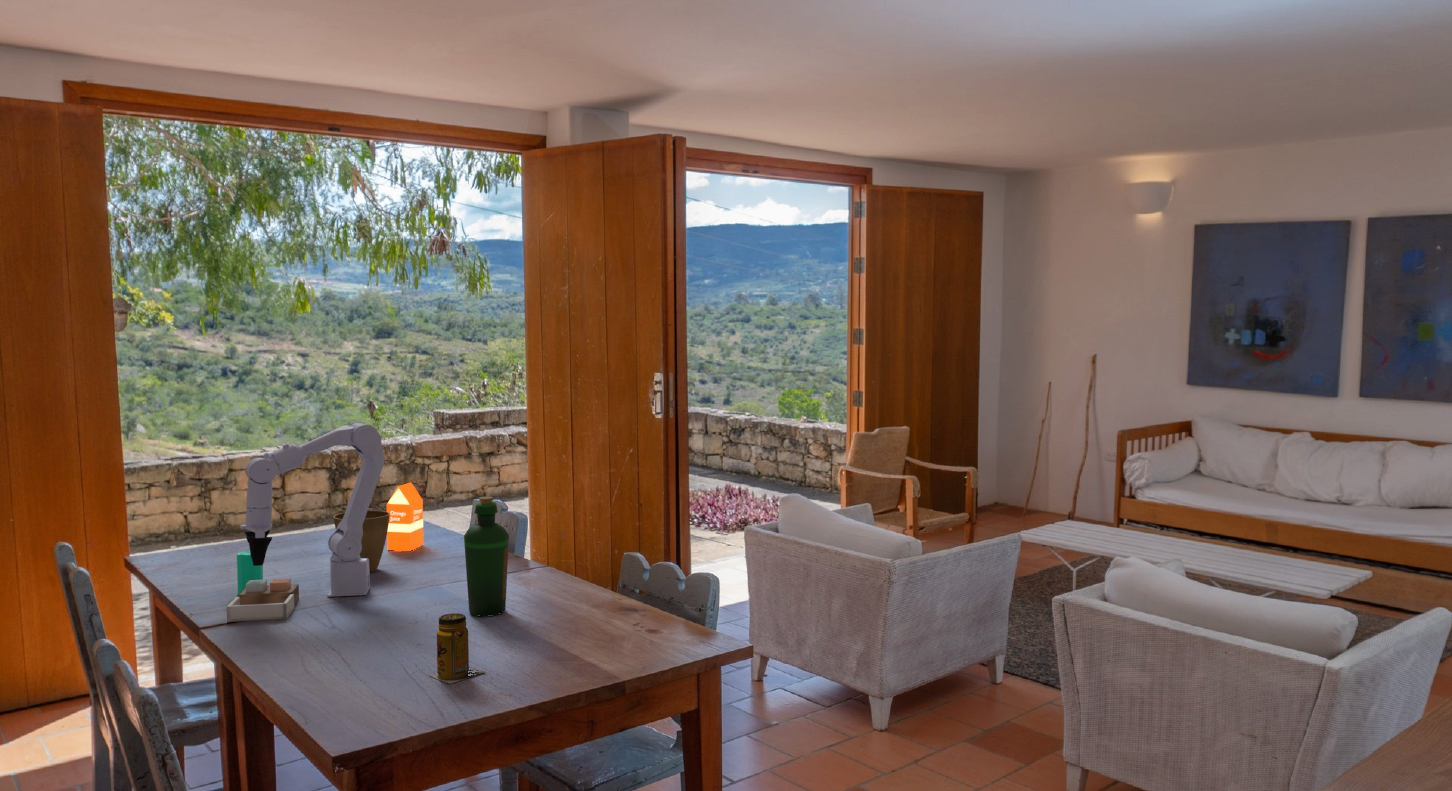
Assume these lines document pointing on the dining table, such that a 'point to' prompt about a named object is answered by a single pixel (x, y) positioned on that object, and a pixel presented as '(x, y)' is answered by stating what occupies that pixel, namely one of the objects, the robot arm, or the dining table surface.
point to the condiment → (453, 649)
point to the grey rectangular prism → (256, 585)
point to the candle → (247, 570)
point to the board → (269, 596)
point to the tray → (259, 610)
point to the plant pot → (371, 535)
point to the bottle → (486, 561)
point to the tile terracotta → (280, 584)
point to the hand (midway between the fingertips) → (257, 562)
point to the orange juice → (405, 519)
